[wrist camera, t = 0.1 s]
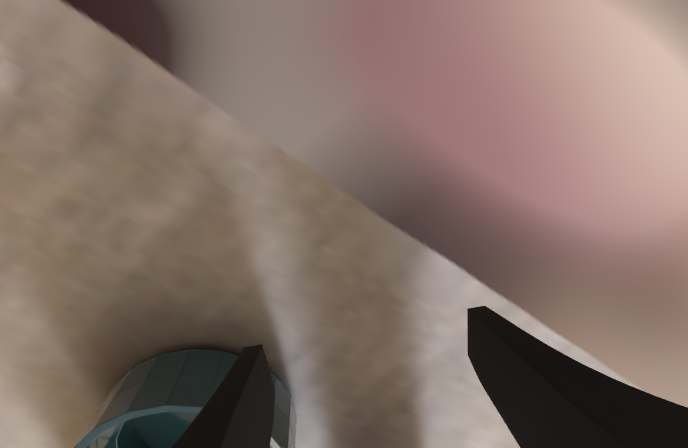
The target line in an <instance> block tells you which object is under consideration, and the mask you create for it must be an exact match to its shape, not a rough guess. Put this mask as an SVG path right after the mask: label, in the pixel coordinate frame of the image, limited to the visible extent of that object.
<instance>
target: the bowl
mask: <svg viewBox="0 0 688 448" xmlns="http://www.w3.org/2000/svg"><path fill="white" fill-rule="evenodd" d="M237 358H238V355H235V354H232V353H229V352H226V351H225V352H224V351H217V350H204V349H188V350H182V351H177V352H171V353H165V354H161V355H157V356H155V357H153V358H151V359H149V360H147V361H145V362H143V363H141V364H139V365H136V366H134V367H133V368H132V369H131V370H130V371H129V372H128V373H127V374H126V375H125V376H124V377H123V378H122V379H121V380H120V381H119V382H118V383H117V384H116V385H115V386H114V387H113V389H112V391H111V392H110V394H109V395H108V397H107V398H106V400H105V401H104V403H103V404H102V406H101V407H100V409H99V410H98V412H97V413H96V415H95V416H94V418H93V419H92V421H91V422H90V424H89V425H88V427H87V428H86V430H85V431H84V433H83V434H82V436H81V437H80V439H79V440H78V442H77V444H76V445H75V447H74V448H171V447H172V446H173V445H174V444H175V442H176V441H177V440H178V439H179V438H180V436H181V435H182V434H183V433H184V432H185V430H186V429H187V428H188V427H189V425H190V424H191V423H192V422H193V420H194V419H195V418H196V416H197V415H198V414H199V412H200V411H201V410H202V408H203V407H204V406H205V404H206V403H207V402H208V400H209V399H210V398H211V396H212V395H213V393H214V392H215V390H216V389H217V388H218V386H219V385H220V383H221V382H222V380H223V379H224V377H225V376H226V374H227V373H228V371H229V370H230V368H231V367H232V365H233V364H234V362H235V361H236V359H237ZM270 374H271V377H272V381H273V384H274V388H275V402H274V421H273V428H272V435H271V442H270V448H295V436H296V412H295V409H294V405H293V401H292V397H291V395H290V393H289V392H288V391H287V390H286V388H285V387H284V386H283V384H282V383H281V382H280V380H279V379H278V378H277V377H276V376H275V375H274V374H272V373H271V372H270Z"/></svg>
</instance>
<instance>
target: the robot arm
mask: <svg viewBox="0 0 688 448" xmlns="http://www.w3.org/2000/svg"><path fill="white" fill-rule="evenodd" d="M468 356H469V358H470V361H471V363H472V365H473V367H474V370H475V372H476V374H477V376H478V378H479V380H480V382H481V384H482V386H483V387H484V389H485V391H486V392H487V394H488V396H489V397H490V399H491V401H492V402H493V404H494V405H495V407H496V409H497V410H498V412H499V414H500V415H501V417H502V418H503V420H504V422H505V423H506V425H507V427H508V428H509V430H510V431H511V433H512V435H513V436H514V438H515V440H516V441H517V443H518V444H519V446H520V448H688V408H687V407H684V406H681V405H678V404H675V403H673V402H670V401H667V400H665V399H662V398H659V397H656V396H654V395H651V394H649V393H646V392H644V391H641V390H639V389H636V388H634V387H632V386H629V385H627V384H624V383H622V382H620V381H617V380H615V379H613V378H611V377H608V376H606V375H604V374H602V373H600V372H598V371H596V370H594V369H592V368H589V367H587V366H585V365H583V364H581V363H579V362H577V361H575V360H574V359H572V358H570V357H568V356H566V355H564V354H563V353H561V352H559V351H557V350H555V349H553V348H552V347H550V346H548V345H547V344H545V343H543V342H541V341H540V340H538V339H536V338H535V337H533V336H532V335H530V334H528V333H527V332H525V331H523V330H522V329H520V328H519V327H517V326H516V325H514V324H512V323H511V322H509V321H508V320H506V319H505V318H503V317H502V316H500V315H498V314H497V313H495V312H494V311H492V310H491V309H489V308H487V307H486V306H481V307H475V308H469V309H468ZM274 402H275V388H274V384H273V381H272V377H271V374H270V370H269V367H268V363H267V360H266V356H265V353H264V349H263V346H262V345H256V346H250V347H244V349H243V350H242V351H241V353H240V354H239V356H238V358H237V359H236V361H235V362H234V364H233V365H232V367H231V368H230V370H229V371H228V373H227V374H226V376H225V377H224V379H223V380H222V382H221V383H220V385H219V386H218V388H217V389H216V390H215V392H214V393H213V395H212V396H211V398H210V399H209V400H208V402H207V403H206V404H205V406H204V407H203V408H202V410H201V411H200V412H199V414H198V415H197V416H196V418H195V419H194V420H193V422H192V423H191V424H190V425H189V427H188V428H187V429H186V430H185V432H184V433H183V434H182V435H181V436H180V438H179V439H178V440H177V441H176V442H175V444H174V445H173V446H172V447H171V448H270V442H271V435H272V428H273V421H274Z"/></svg>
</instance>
